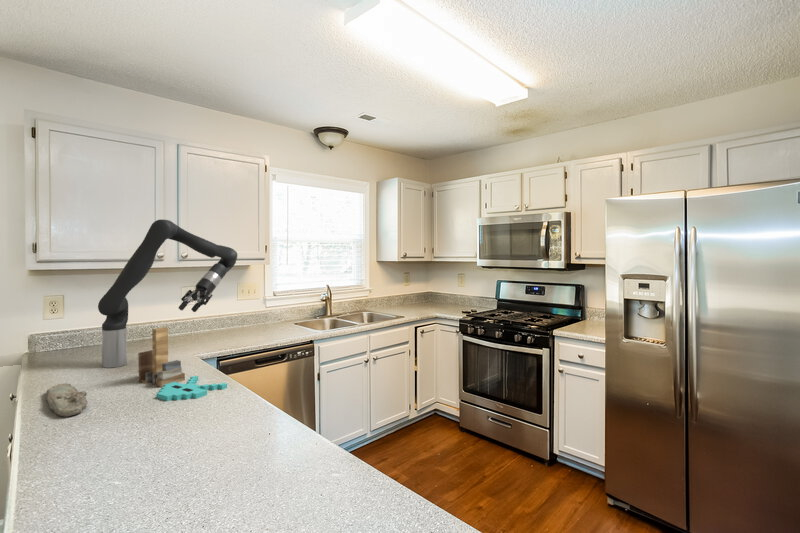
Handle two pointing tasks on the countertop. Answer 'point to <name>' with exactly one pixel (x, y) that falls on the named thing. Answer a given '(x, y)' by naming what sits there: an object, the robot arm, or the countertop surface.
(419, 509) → the countertop surface
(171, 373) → the offcut stack
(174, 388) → the alien figure
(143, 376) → the rack
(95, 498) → the countertop surface
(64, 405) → the elongated rock
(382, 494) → the countertop surface
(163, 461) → the countertop surface
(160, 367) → the tall panel
